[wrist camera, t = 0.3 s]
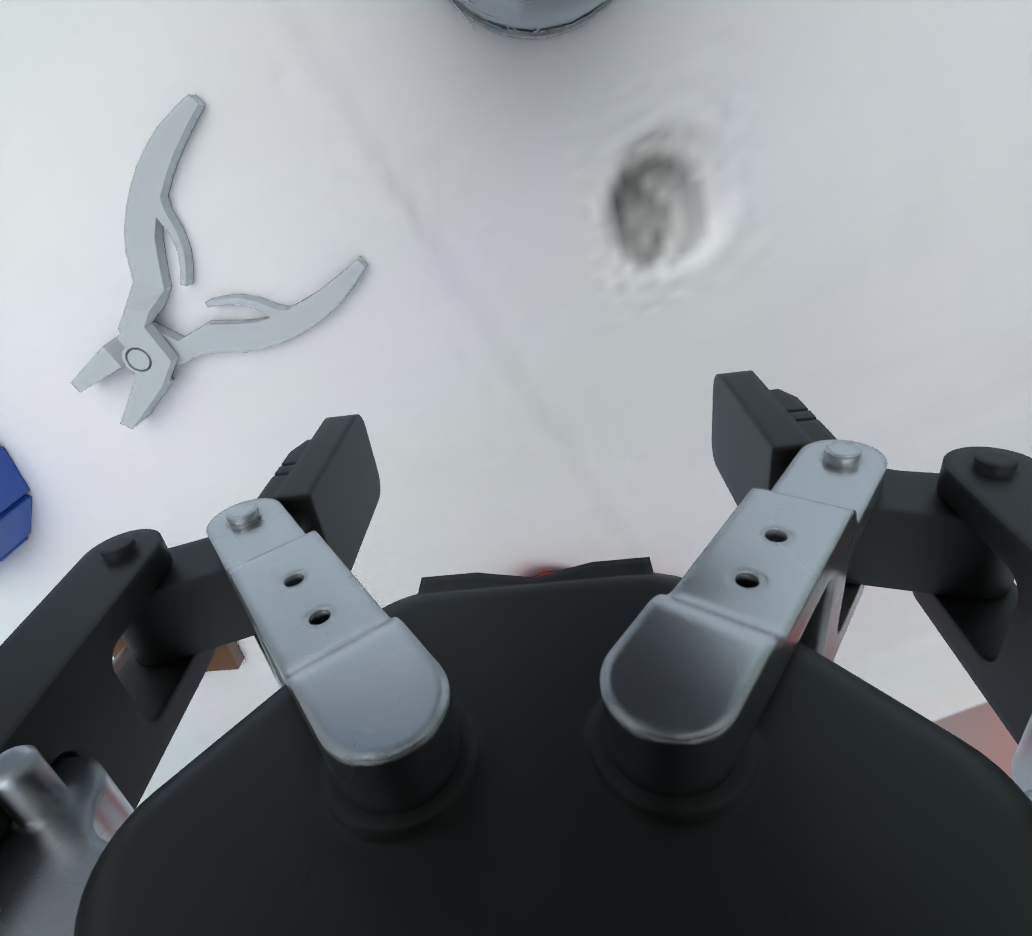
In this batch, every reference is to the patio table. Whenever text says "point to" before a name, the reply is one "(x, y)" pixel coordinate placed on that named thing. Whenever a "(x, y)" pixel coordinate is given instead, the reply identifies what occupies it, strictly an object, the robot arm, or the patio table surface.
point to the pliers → (155, 345)
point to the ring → (12, 507)
